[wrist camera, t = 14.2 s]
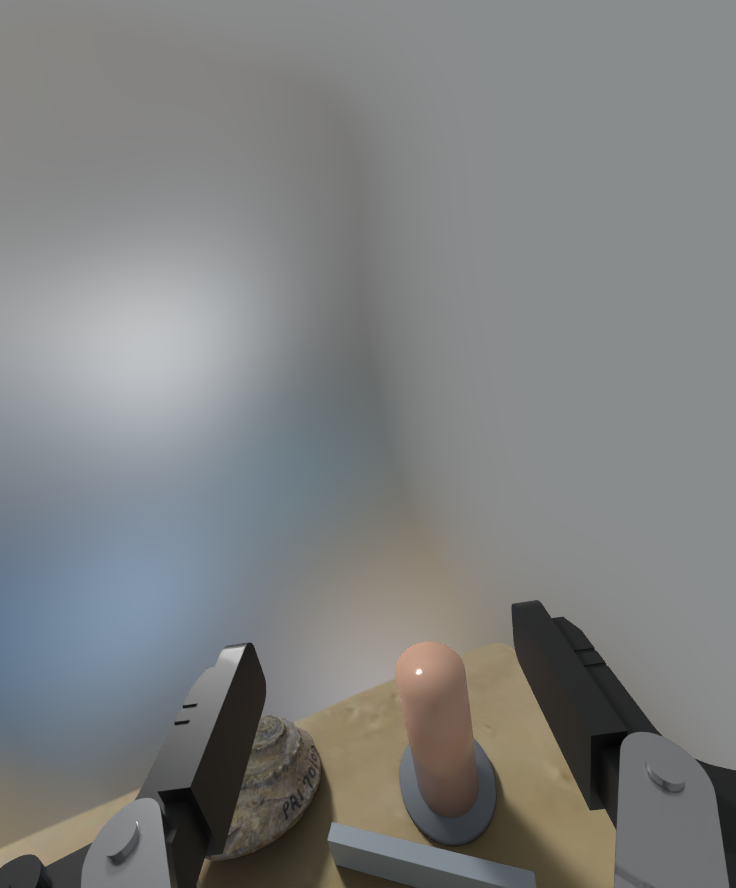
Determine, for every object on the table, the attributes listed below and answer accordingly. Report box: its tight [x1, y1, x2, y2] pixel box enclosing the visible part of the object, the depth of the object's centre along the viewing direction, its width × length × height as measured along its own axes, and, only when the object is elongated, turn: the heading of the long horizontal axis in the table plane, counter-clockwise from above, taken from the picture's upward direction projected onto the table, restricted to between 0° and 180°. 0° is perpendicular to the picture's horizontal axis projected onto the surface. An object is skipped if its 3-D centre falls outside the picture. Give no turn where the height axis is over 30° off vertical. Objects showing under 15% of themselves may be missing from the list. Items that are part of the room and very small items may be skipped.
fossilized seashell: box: [205, 715, 321, 861], centre depth 30 cm, size 11×10×7 cm
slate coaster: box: [400, 739, 496, 846], centre depth 29 cm, size 8×8×1 cm
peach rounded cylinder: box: [396, 641, 479, 818], centre depth 28 cm, size 5×5×12 cm
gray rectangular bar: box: [327, 822, 536, 888], centre depth 24 cm, size 14×1×3 cm, turn 75°
